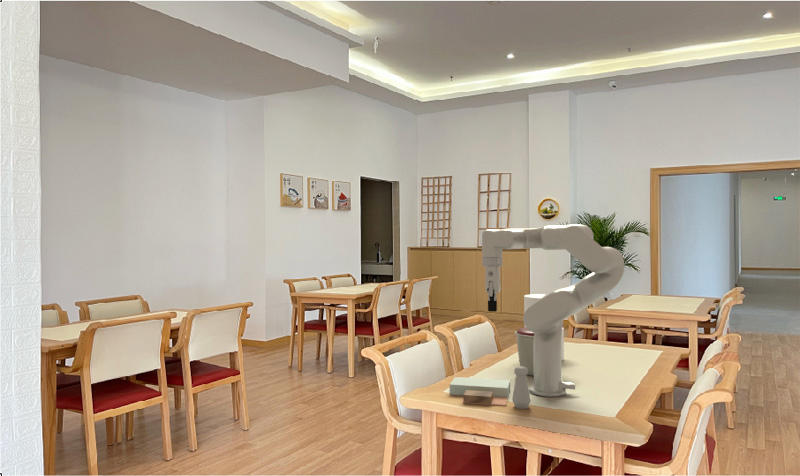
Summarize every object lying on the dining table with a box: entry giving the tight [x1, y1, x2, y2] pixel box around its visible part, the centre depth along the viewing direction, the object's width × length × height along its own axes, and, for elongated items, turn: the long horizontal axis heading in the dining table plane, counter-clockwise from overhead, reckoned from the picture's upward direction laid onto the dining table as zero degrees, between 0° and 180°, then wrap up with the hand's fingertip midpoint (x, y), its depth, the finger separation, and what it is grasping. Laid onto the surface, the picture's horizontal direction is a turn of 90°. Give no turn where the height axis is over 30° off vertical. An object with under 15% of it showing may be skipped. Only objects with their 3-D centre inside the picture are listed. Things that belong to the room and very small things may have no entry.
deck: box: [449, 376, 511, 399], centre depth 202 cm, size 20×11×4 cm, turn 75°
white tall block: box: [523, 293, 565, 362], centre depth 257 cm, size 17×17×28 cm
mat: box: [462, 397, 509, 407], centre depth 192 cm, size 14×9×1 cm, turn 75°
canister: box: [514, 327, 534, 377], centre depth 229 cm, size 18×18×21 cm
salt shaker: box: [512, 365, 532, 410], centre depth 184 cm, size 6×6×13 cm
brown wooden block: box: [462, 390, 493, 405], centre depth 191 cm, size 9×6×2 cm, turn 75°
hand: (492, 311), depth 214 cm, fingers closed
